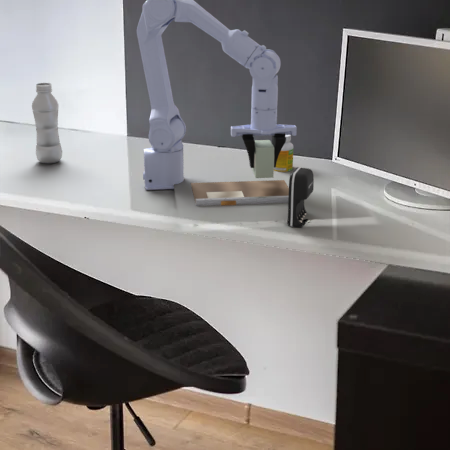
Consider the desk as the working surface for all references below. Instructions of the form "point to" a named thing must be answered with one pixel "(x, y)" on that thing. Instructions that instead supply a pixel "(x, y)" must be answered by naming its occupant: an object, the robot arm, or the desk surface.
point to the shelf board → (240, 192)
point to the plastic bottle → (46, 124)
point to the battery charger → (299, 195)
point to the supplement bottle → (285, 157)
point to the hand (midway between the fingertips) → (262, 166)
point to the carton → (263, 159)
